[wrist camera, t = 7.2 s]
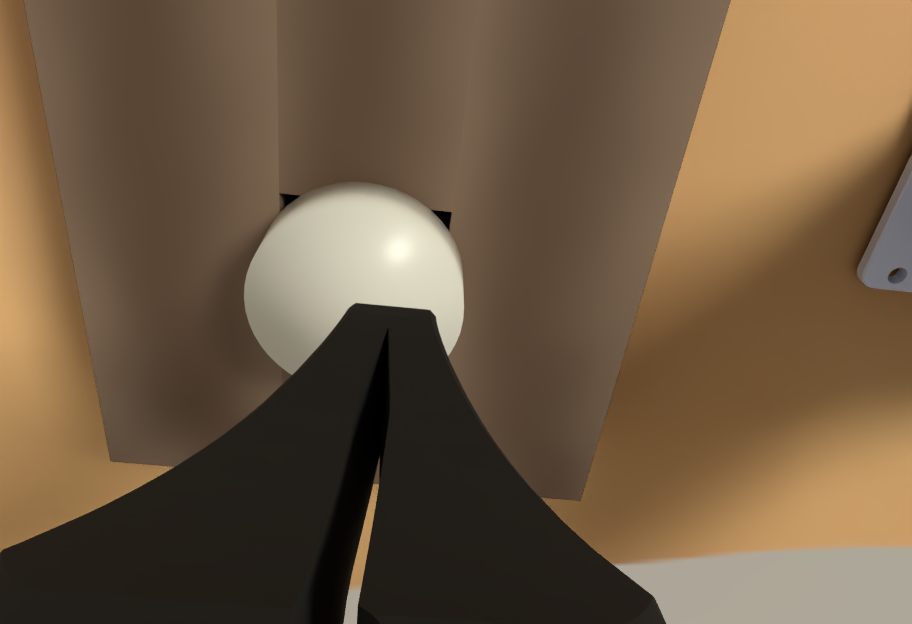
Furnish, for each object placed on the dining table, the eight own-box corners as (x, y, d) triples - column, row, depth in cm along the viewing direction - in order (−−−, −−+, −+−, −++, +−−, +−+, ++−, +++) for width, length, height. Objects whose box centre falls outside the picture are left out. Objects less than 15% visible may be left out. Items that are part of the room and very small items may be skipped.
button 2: (473, 155, 18) (478, 221, 15) (451, 314, 21) (450, 404, 17) (281, 132, 18) (238, 195, 15) (283, 298, 21) (248, 385, 17)
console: (920, -888, 10) (1073, -1140, 8) (566, 434, 24) (580, 500, 21) (-64, -1105, 9) (-254, -1470, 7) (148, 396, 23) (110, 461, 20)
